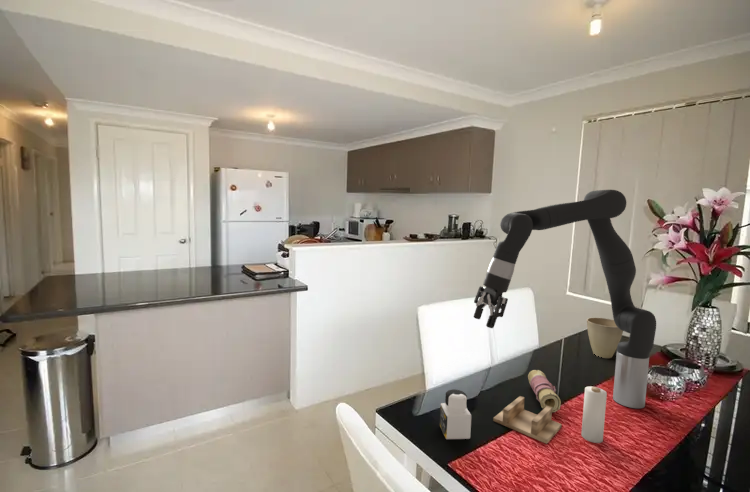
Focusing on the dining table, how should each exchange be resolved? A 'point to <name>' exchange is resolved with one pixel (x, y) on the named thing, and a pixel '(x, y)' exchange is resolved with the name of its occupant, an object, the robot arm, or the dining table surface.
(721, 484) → the dining table surface
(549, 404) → the scroll
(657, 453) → the dining table surface
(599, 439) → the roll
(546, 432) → the stand
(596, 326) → the plant pot
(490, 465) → the dining table surface
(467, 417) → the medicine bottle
